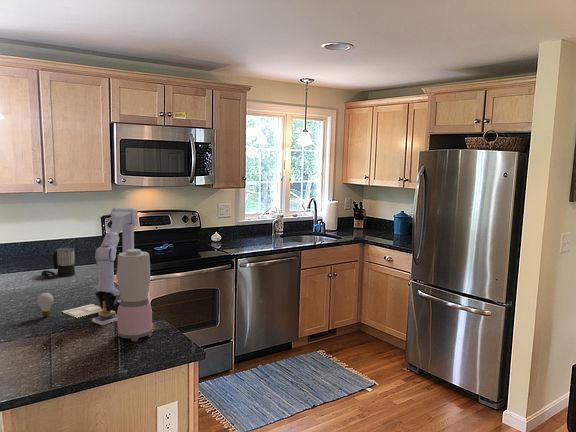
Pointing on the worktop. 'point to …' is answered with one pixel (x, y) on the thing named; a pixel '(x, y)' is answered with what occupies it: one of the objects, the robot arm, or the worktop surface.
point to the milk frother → (62, 263)
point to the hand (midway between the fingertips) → (106, 309)
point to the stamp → (106, 312)
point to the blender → (134, 295)
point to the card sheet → (83, 310)
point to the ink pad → (104, 320)
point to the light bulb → (45, 303)
